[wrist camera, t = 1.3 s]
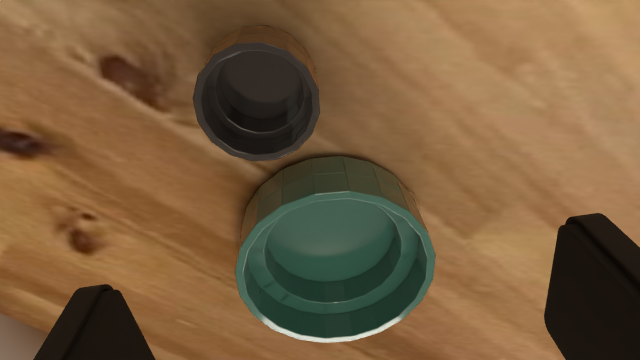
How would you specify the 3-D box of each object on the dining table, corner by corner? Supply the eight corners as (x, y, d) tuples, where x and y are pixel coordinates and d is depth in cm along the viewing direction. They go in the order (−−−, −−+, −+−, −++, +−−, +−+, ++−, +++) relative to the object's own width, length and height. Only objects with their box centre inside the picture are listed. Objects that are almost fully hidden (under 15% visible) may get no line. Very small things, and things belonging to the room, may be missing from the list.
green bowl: (255, 298, 39) (250, 349, 35) (230, 160, 32) (219, 201, 27) (411, 285, 40) (427, 334, 35) (421, 145, 32) (443, 183, 28)
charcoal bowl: (218, 131, 31) (206, 165, 26) (198, 28, 27) (181, 47, 23) (318, 124, 31) (322, 156, 27) (311, 20, 27) (315, 38, 23)
